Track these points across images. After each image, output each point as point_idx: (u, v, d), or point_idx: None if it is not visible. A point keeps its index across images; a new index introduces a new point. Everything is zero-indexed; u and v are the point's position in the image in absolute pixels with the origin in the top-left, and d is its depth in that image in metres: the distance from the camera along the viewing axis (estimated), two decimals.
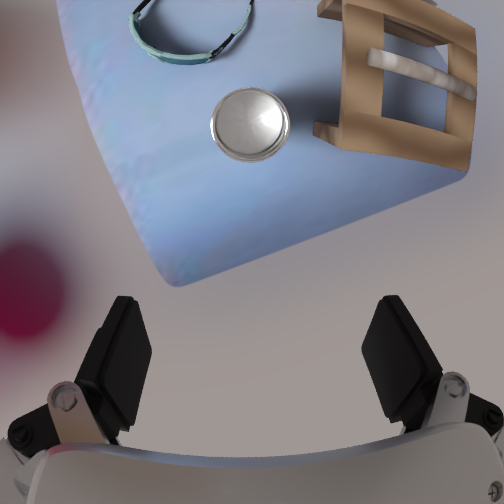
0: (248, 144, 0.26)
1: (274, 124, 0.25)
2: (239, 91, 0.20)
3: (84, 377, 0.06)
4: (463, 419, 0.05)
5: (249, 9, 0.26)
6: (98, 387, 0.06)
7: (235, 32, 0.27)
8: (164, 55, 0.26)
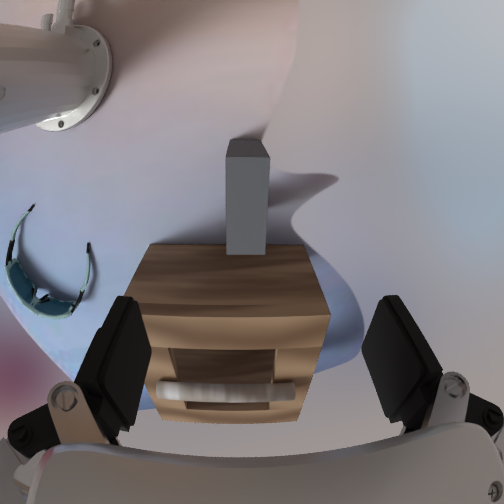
0: None
1: None
2: None
3: (84, 377, 0.06)
4: (463, 419, 0.05)
5: (87, 259, 0.32)
6: (98, 387, 0.06)
7: (82, 289, 0.33)
8: (40, 315, 0.32)
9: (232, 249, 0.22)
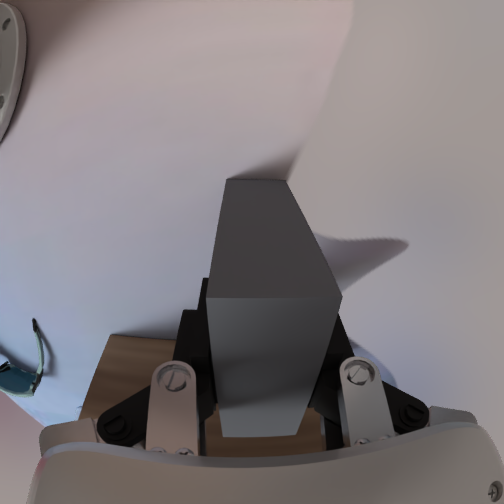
0: None
1: None
2: None
3: (195, 353, 0.07)
4: (361, 409, 0.06)
5: (37, 339, 0.19)
6: (207, 362, 0.07)
7: (39, 371, 0.20)
8: (0, 390, 0.19)
9: (233, 433, 0.09)
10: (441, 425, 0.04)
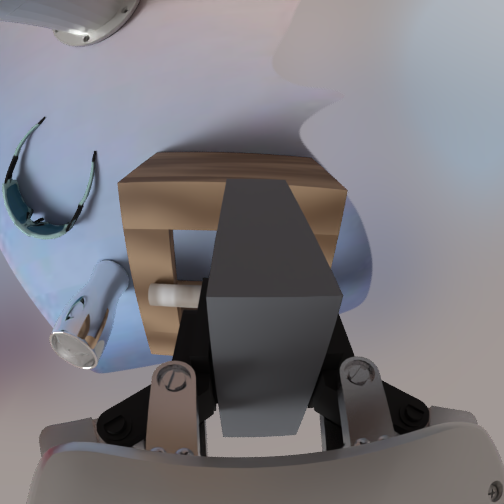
0: None
1: None
2: (56, 333, 0.24)
3: (195, 353, 0.07)
4: (361, 408, 0.06)
5: (92, 168, 0.30)
6: (207, 362, 0.07)
7: (81, 202, 0.31)
8: (32, 235, 0.29)
9: (233, 433, 0.09)
10: (441, 425, 0.04)
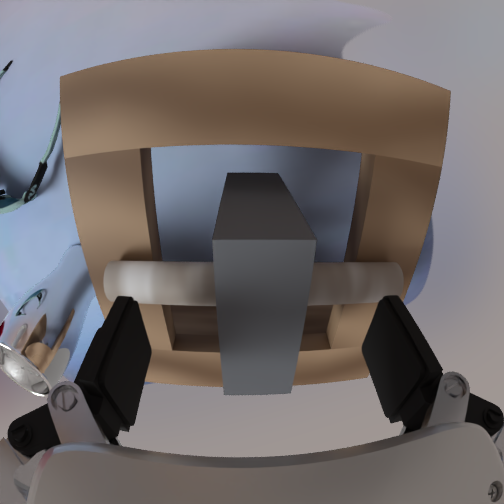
0: None
1: None
2: None
3: (84, 377, 0.06)
4: (463, 419, 0.05)
5: (59, 112, 0.18)
6: (98, 387, 0.06)
7: (43, 159, 0.19)
8: None
9: (233, 389, 0.11)
10: (441, 425, 0.04)
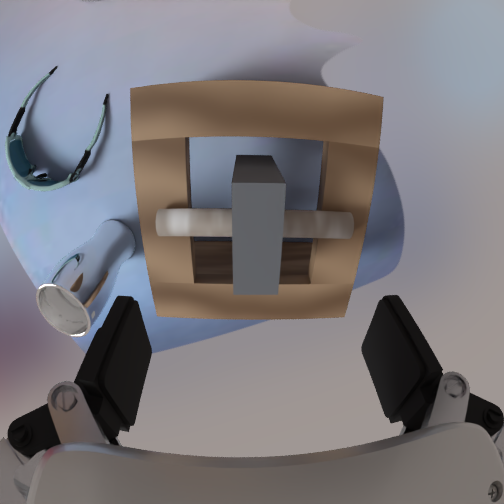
0: None
1: None
2: (44, 286, 0.20)
3: (84, 377, 0.06)
4: (463, 419, 0.05)
5: (102, 111, 0.26)
6: (98, 387, 0.06)
7: (89, 147, 0.27)
8: (32, 188, 0.26)
9: (239, 289, 0.19)
10: (441, 425, 0.04)
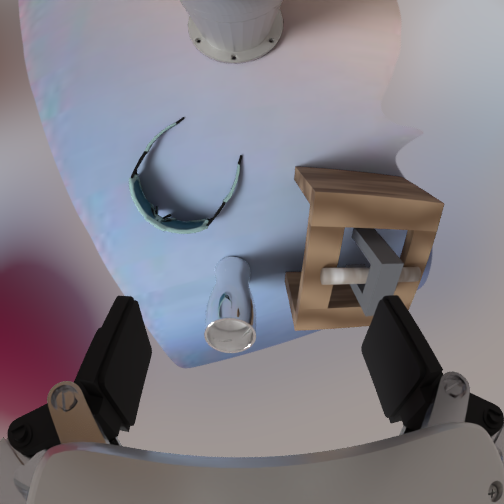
0: (230, 327, 0.39)
1: None
2: (221, 320, 0.33)
3: (84, 377, 0.06)
4: (463, 419, 0.05)
5: (238, 170, 0.39)
6: (98, 387, 0.06)
7: (226, 200, 0.40)
8: (168, 230, 0.39)
9: (369, 313, 0.32)
10: (441, 425, 0.04)
